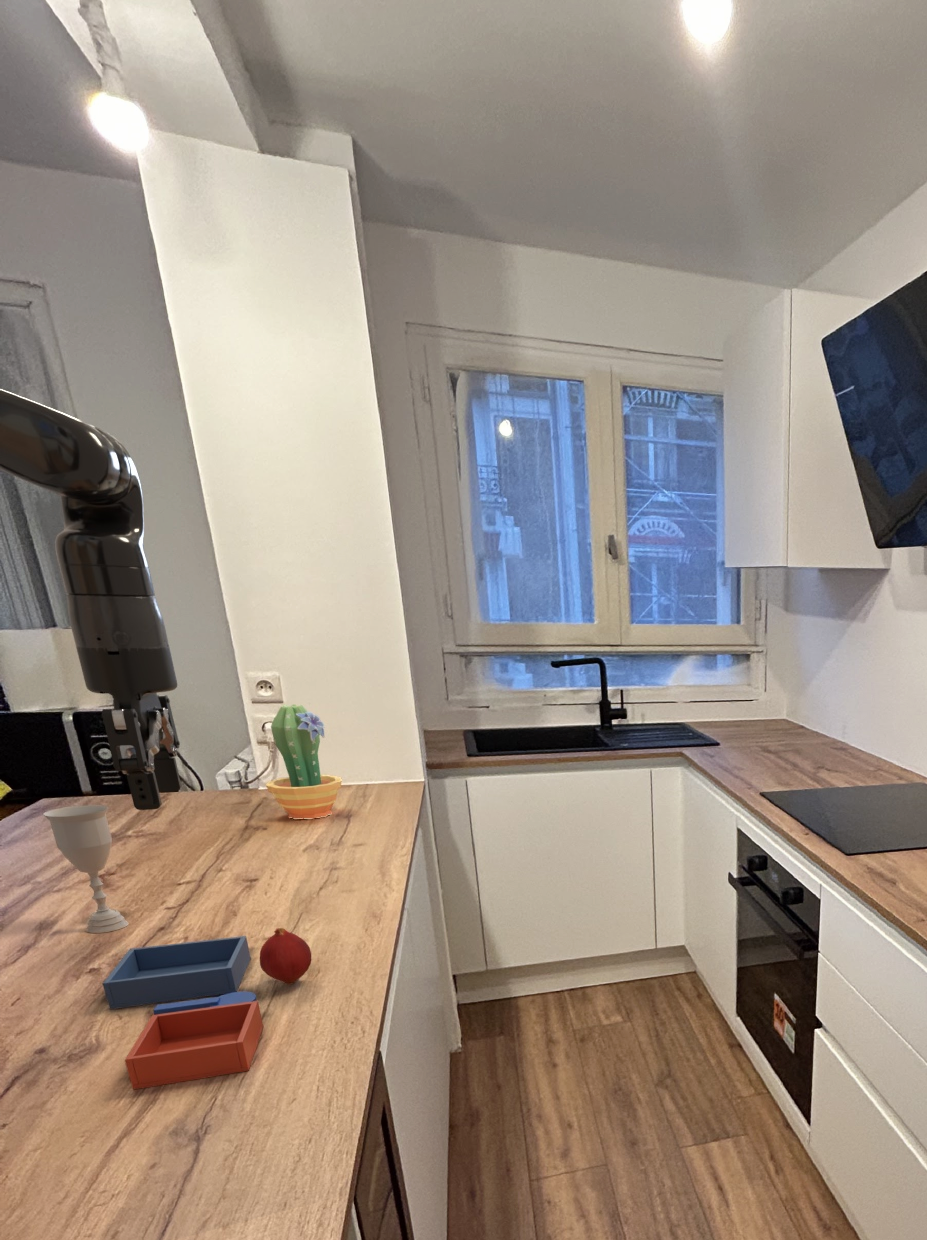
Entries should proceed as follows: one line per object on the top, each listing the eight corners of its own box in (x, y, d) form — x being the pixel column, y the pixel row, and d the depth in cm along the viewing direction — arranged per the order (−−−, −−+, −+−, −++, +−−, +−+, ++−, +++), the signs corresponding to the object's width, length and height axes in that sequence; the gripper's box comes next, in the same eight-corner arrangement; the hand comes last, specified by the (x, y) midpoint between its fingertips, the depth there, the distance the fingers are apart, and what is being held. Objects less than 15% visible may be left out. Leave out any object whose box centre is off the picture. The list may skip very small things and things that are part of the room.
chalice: (136, 915, 127) (107, 803, 121) (139, 928, 122) (109, 812, 116) (75, 925, 123) (42, 809, 117) (76, 939, 118) (42, 819, 112)
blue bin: (109, 1009, 99) (102, 983, 97) (136, 972, 108) (129, 948, 107) (236, 992, 104) (230, 967, 102) (251, 958, 113) (246, 935, 112)
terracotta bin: (132, 1089, 83) (124, 1060, 82) (159, 1042, 92) (152, 1014, 90) (248, 1070, 87) (242, 1042, 86) (263, 1027, 96) (258, 1000, 94)
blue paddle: (152, 1030, 94) (149, 1016, 94) (163, 1012, 98) (160, 998, 98) (254, 1015, 98) (251, 1002, 97) (260, 998, 102) (258, 985, 102)
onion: (266, 978, 108) (255, 922, 105) (316, 970, 110) (306, 916, 107) (263, 996, 103) (251, 938, 100) (315, 988, 105) (304, 931, 103)
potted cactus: (281, 827, 177) (259, 711, 169) (264, 813, 188) (243, 703, 179) (356, 817, 187) (340, 706, 179) (336, 804, 198) (320, 700, 189)
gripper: (100, 639, 87) (136, 788, 92) (49, 646, 74) (95, 818, 80) (184, 640, 90) (214, 784, 95) (148, 647, 77) (185, 812, 83)
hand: (159, 799), depth 87 cm, fingers open, 8 cm apart
